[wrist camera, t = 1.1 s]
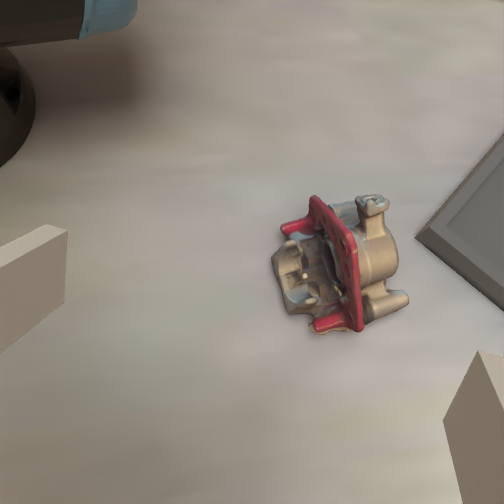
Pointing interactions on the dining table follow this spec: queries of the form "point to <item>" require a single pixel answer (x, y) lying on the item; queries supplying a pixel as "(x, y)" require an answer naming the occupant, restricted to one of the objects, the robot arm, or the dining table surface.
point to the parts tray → (474, 227)
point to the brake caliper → (339, 264)
